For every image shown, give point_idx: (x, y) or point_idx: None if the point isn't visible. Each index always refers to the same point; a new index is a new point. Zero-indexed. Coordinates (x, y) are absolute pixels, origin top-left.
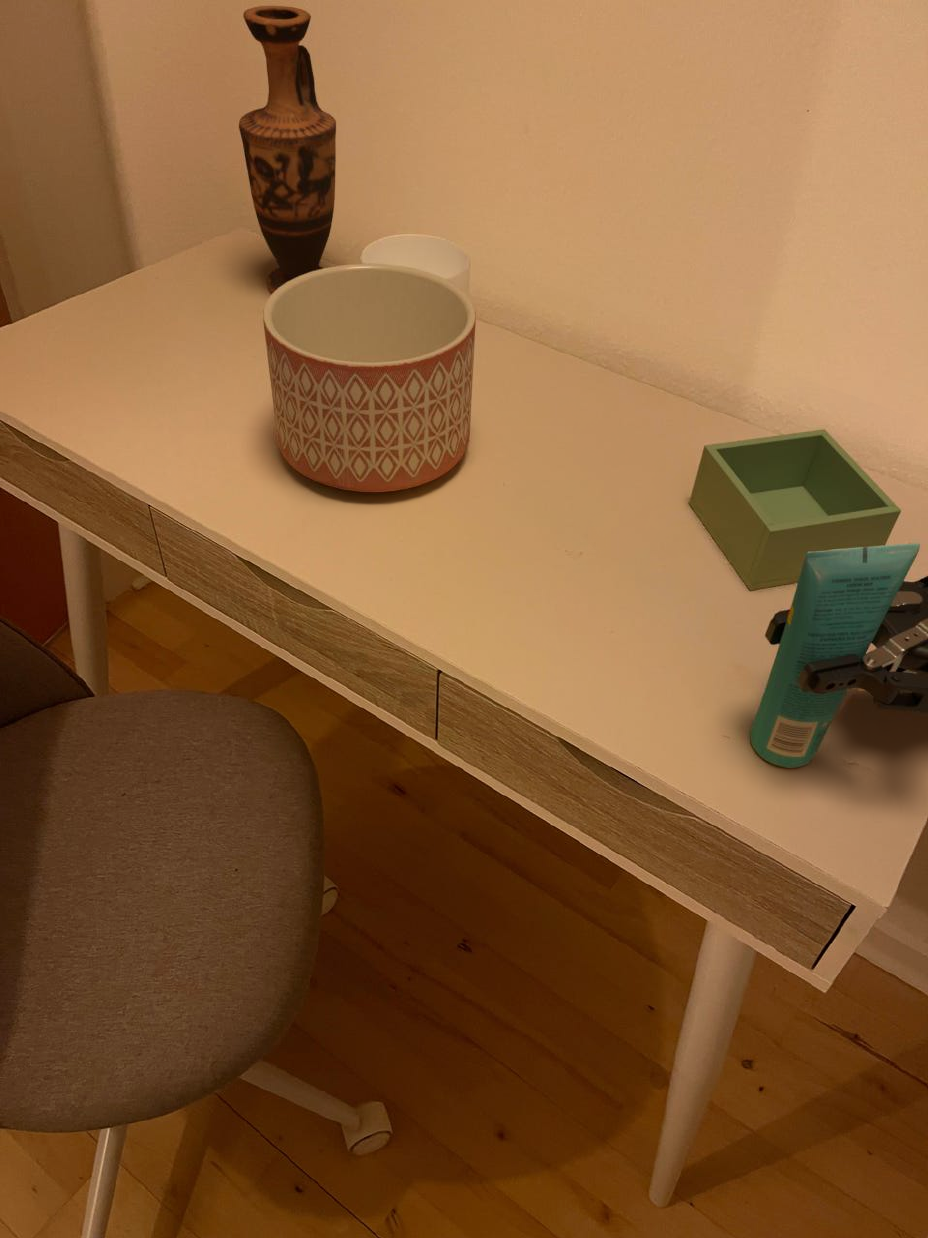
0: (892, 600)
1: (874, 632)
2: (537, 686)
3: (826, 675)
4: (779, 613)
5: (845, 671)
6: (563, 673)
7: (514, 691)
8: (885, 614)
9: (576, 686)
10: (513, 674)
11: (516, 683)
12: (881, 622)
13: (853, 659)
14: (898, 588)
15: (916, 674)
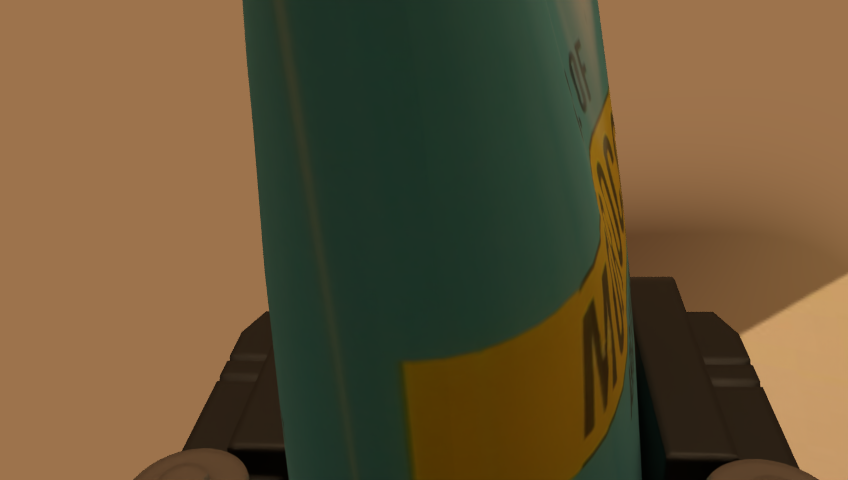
0: (265, 204)
1: (284, 443)
2: (778, 361)
3: (270, 333)
4: (719, 328)
5: (239, 401)
6: (829, 408)
7: (761, 329)
8: (280, 351)
9: (784, 419)
10: (813, 336)
11: (785, 335)
12: (287, 419)
13: (262, 426)
14: (246, 40)
15: None
